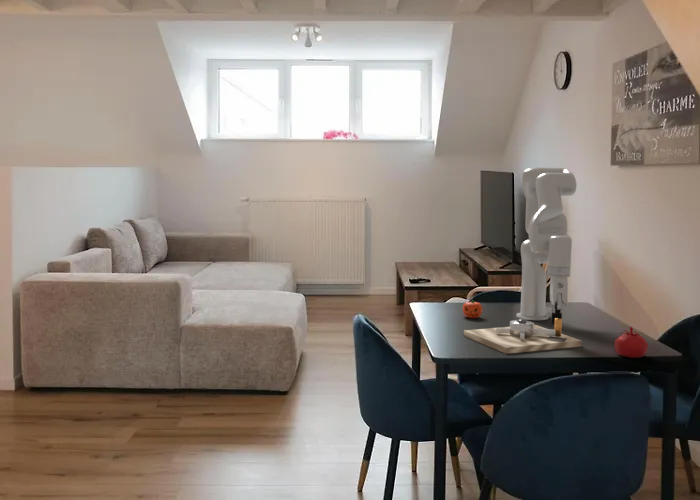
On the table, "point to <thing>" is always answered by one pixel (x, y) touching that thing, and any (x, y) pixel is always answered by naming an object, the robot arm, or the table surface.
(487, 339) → the wooden board
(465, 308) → the pumpkin
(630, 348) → the pomegranate
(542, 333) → the cylinder
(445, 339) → the table surface
